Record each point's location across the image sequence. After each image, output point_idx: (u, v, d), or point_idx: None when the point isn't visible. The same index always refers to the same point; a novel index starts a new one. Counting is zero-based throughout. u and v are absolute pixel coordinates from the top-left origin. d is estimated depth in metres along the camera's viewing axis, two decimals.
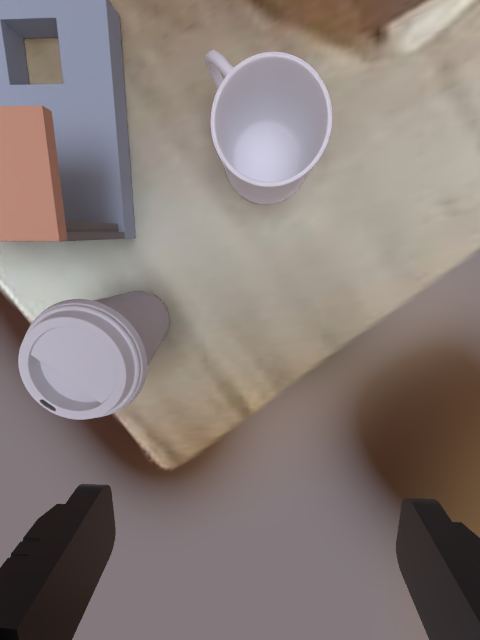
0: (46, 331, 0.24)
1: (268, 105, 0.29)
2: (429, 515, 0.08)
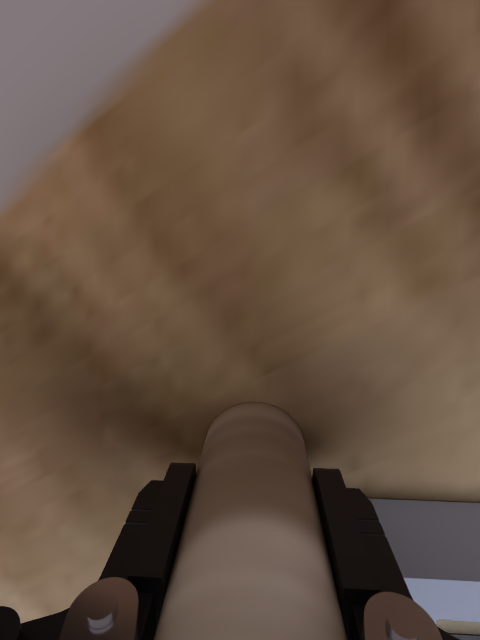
0: None
1: None
2: (327, 481, 0.09)
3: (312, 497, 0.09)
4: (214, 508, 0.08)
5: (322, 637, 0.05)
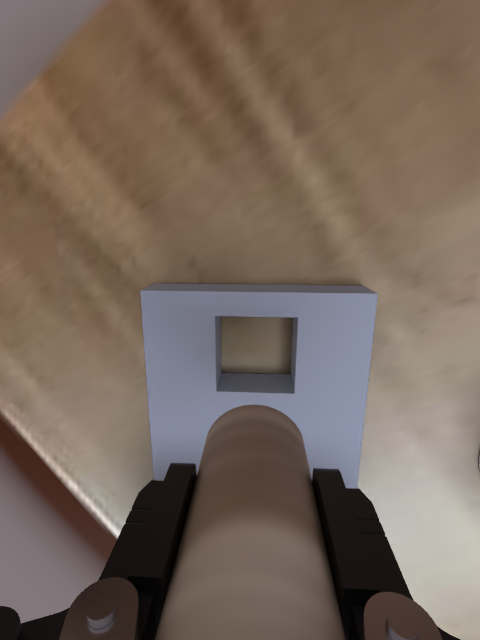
0: None
1: None
2: (327, 481, 0.09)
3: (312, 500, 0.09)
4: (214, 511, 0.08)
5: None
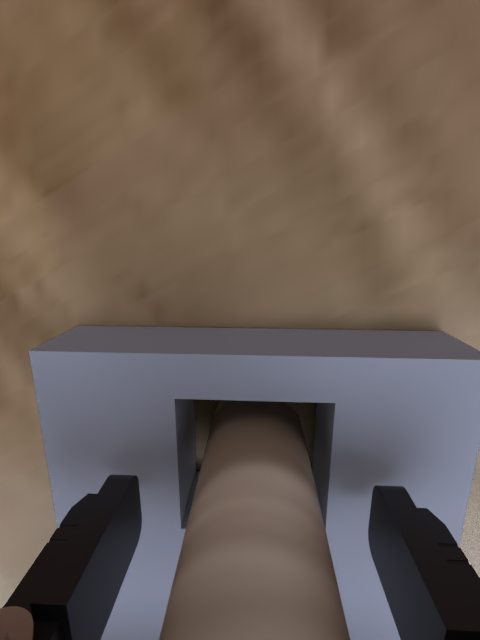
0: None
1: None
2: (395, 500, 0.09)
3: (305, 455, 0.11)
4: (225, 459, 0.09)
5: (310, 541, 0.07)
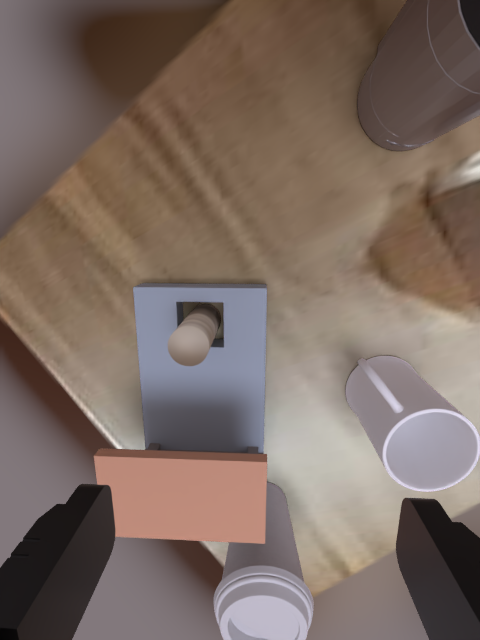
0: (246, 603, 0.30)
1: None
2: (429, 515, 0.08)
3: (214, 318, 0.36)
4: (189, 314, 0.35)
5: (206, 322, 0.32)
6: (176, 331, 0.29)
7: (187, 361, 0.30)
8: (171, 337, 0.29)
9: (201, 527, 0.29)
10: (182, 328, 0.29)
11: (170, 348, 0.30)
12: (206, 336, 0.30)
